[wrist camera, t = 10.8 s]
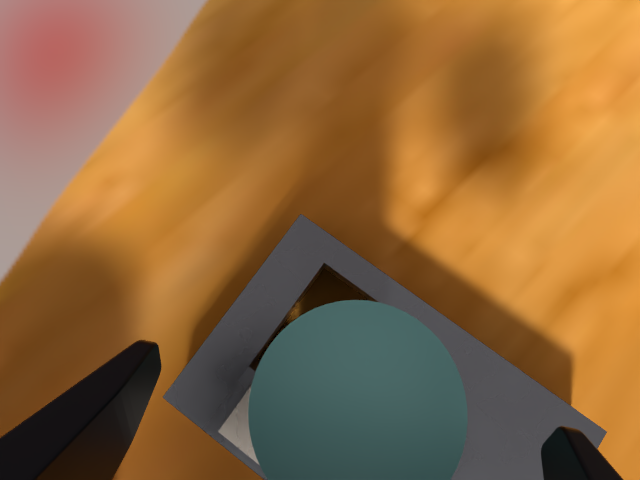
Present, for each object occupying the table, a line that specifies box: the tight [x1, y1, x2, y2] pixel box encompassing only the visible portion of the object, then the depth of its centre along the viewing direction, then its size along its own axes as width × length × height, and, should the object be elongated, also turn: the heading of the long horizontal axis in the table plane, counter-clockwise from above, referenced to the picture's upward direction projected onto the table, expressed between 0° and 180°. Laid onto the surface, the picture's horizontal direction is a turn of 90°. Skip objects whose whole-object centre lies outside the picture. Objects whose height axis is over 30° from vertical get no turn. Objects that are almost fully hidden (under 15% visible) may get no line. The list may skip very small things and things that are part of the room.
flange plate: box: [163, 214, 607, 480], centre depth 18 cm, size 10×16×3 cm, turn 54°
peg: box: [248, 300, 468, 480], centre depth 14 cm, size 4×4×13 cm
